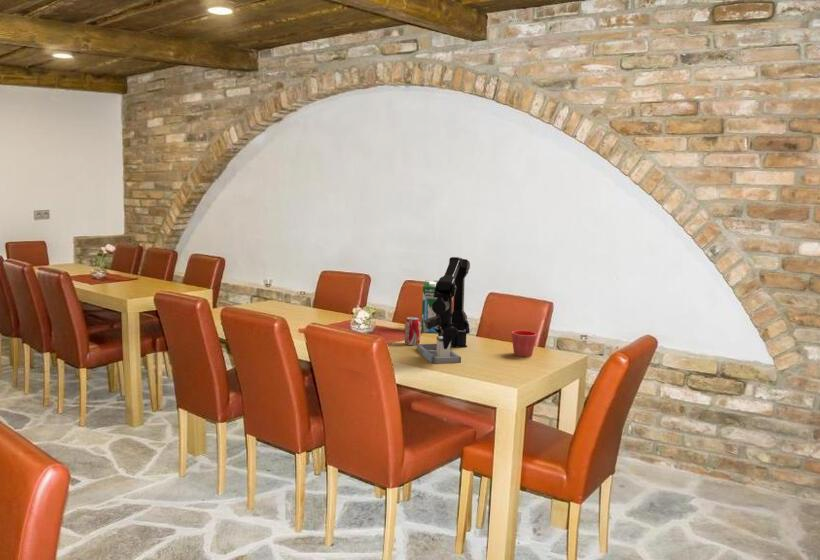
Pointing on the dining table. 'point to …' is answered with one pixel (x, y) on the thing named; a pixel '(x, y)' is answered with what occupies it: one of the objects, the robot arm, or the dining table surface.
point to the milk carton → (428, 304)
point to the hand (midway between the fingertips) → (443, 347)
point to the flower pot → (523, 342)
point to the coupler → (442, 348)
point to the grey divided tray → (431, 353)
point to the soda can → (412, 331)
